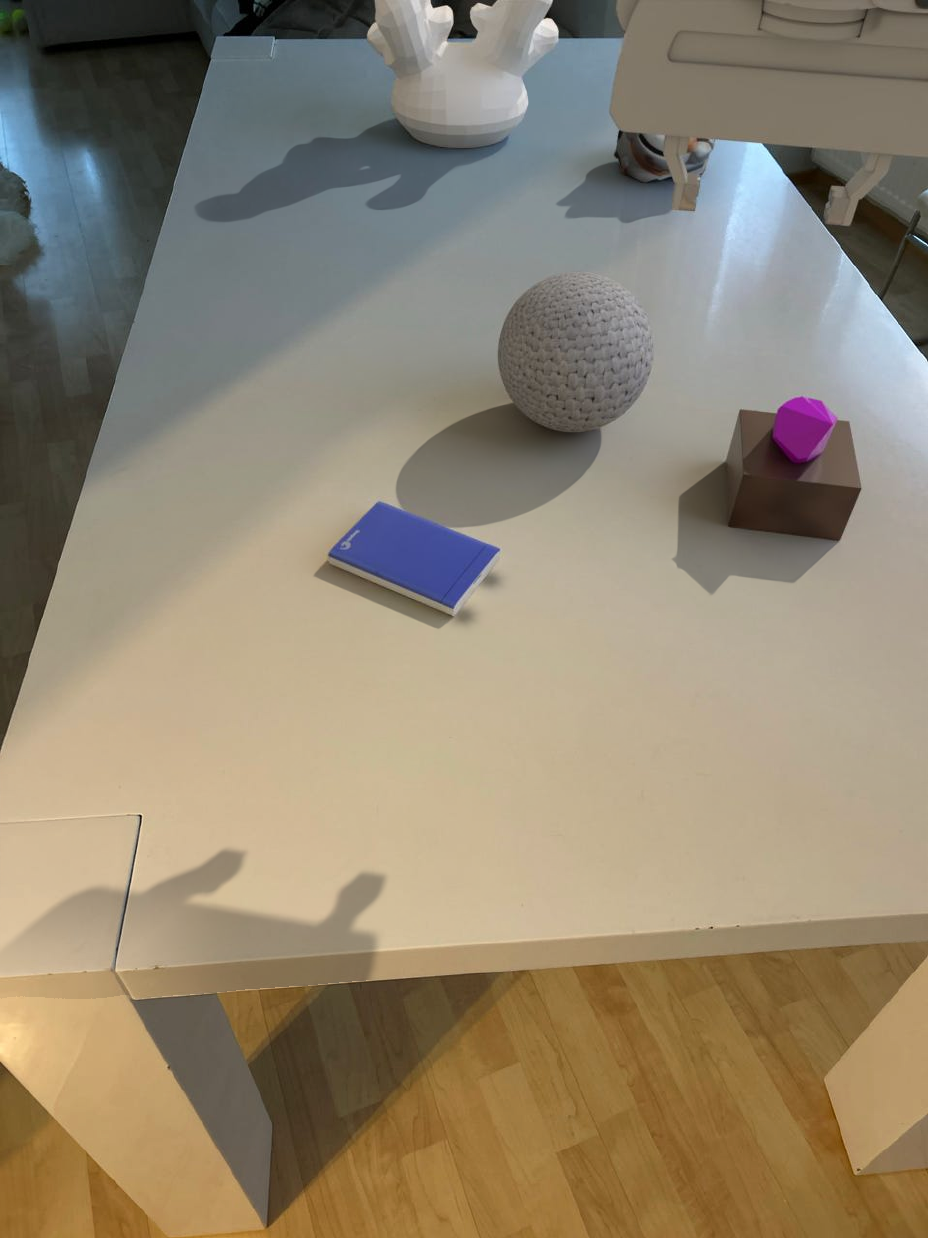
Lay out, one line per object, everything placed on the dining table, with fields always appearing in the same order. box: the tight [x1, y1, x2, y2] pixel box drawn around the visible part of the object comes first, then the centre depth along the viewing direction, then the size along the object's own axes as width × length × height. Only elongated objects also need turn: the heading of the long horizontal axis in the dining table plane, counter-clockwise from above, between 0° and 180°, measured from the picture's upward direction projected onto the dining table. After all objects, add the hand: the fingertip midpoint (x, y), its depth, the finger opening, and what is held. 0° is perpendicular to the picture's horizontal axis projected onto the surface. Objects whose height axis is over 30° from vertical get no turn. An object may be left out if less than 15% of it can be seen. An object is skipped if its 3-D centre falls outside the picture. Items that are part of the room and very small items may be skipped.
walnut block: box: [725, 408, 863, 541], centre depth 87 cm, size 10×10×6 cm
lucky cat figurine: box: [613, 129, 716, 184], centre depth 136 cm, size 15×12×14 cm
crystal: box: [773, 395, 839, 463], centre depth 83 cm, size 5×5×5 cm
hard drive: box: [327, 500, 501, 617], centre depth 82 cm, size 2×8×12 cm
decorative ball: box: [497, 271, 654, 433], centre depth 92 cm, size 15×15×15 cm
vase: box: [366, 0, 559, 149], centre depth 138 cm, size 29×22×35 cm
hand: (758, 214), depth 59 cm, fingers open, 8 cm apart
